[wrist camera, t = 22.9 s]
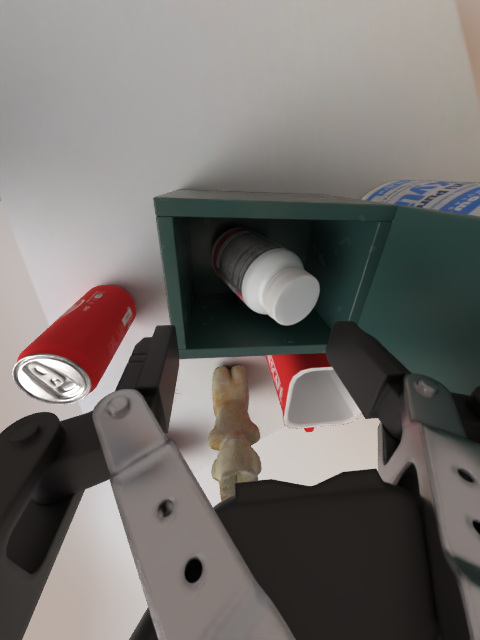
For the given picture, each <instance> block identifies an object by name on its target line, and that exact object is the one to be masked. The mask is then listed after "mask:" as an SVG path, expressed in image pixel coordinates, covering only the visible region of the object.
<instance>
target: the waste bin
mask: <svg viewBox="0 0 480 640" xmlns="http://www.w3.org/2000/svg"><path fill="white" fill-rule="evenodd" d="M153 200H154V207H155V214H156V221H157V229H158V236H159V243H160V251H161V258H162V265H163V273H164V280H165V287H166V295H167V302H168V309H169V317H170V324H171V325H175V327H176V334H177V342H178V350H179V359H191V358H216V357H240V356H265V355H289V354H314V353H326V347H327V343H328V340H329V336H330V333H331V329H332V326H333V323H334V322H336V321H353V322H355V323H356V324H357V325H358V323H359V320H360V317H361V314H362V311H363V308H364V305H365V302H366V299H367V296H368V294H369V291H370V288H371V285H372V282H373V279H374V276H375V273H376V270H377V267H378V264H379V261H380V258H381V256H382V253H383V250H384V247H385V244H386V241H387V238H388V235H389V232H390V229H391V226H392V223H393V222H392V221H393V220H394V218H395V215H396V212H397V209H398V205H395V204H388V203H380V202H373V201H366V200H359V199H351V198H344V197H337V196H329V195H321V194H293V193H264V192H236V191H208V190H176V191H173V192H170V193H167V194H163V195H160V196H157V197H154V199H153ZM235 227H243V228H247V229H249V230H252V231H254V232H256V233H257V234H259V235H261V236H263V237H265V238H267V239H269V240H271V241H273V242H275V243H276V244H278V245H281V246H282V247H284V248H286V249H288V250H290V251H292V252H293V253H295V254H296V255H297V256H298V257H299V258H300V260H301V262H302V264H303V267H304V270H305V271H307V272H308V273H309V274H311V275H312V276H314V277H315V278H316V279H317V280H318V282H319V285H320V293H319V297H318V300H317V302H316V304H315V306H314V308H313V309H312V310H311V312H310V313H309V314H308V315H307V316H306V317H305V318H304V319H302V320H301V321H299V322H298V323H295V324H293V325H287V326H286V325H281V324H279V323H277V322H276V321H275V320H274V319H273V318H271V317H270V316H269V315H268V314H259V313H257V312H255V311H253V310H252V309H250V308H249V307H248V306H247V305H246V304H245V303H244V302H243V301H242V300H241V299H240V298H239V297H238V296H237V295H236V294H235V293H234V292H233V290H232V289H230V288H229V287H228V286H227V284H225V283H224V281H223V280H222V279H221V278H220V277H219V276H218V275H217V274H216V273H215V271H214V269H213V267H212V263H211V253H212V249H213V246H214V244H215V242H216V240H217V239H218V238H219V237H220V236H221V235H222V234H223V233H224V232H225V231H228V230H229V229H232V228H235Z"/></svg>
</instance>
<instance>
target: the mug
mask: <svg viewBox="0 0 480 640" xmlns="http://www.w3.org/2000/svg"><path fill="white" fill-rule="evenodd" d="M266 359H267V362H268V365H269V369H270V372H271V375H272V378H273V382H274V385H275V388H276V391H277V395H278V398H279V401H280V404H281V408H282V411H283V422H284V425H286V426H287V427H289V428H296V429H297V428H304V429H305V431H306V432H312V431H313V429H314V427H322V426H334V425H343V424H348V423H351V422H353V421H355V420H356V419H358V417H359V416H360V415H361V414H362V412H361V411H360V409H359V408H358V406H357V405H356V403H355V402H354V400H353V399H352V397H351V396H350V394H349V392H348V391H347V389H346V388H345V386H344V385H343V383H342V382H341V380H340V379H339V377H338V375H337V374H336V372H335V371H334V369H333V368H332V366H331V365H330V363H329V362H328V360H327V356H326V353H314V354H289V355H266Z"/></svg>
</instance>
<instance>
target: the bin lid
mask: <svg viewBox="0 0 480 640" xmlns="http://www.w3.org/2000/svg"><path fill="white" fill-rule="evenodd" d="M358 326H359V327H360V328H361V329H362V330H363V331H365V332H366V333H368V334H370V335H371V336H373V337H375V338H376V339H377V340H378V341H379V342H380V343H381V344H382V346H384V347H385V348H386V349H387V350H388V352H390V353H391V354H392V355H393V356H394V357H395V358H396V359H398V360H399V361H400V362H401V363H402V364H403V365H404V366H405V367H406V368H407V369H408V370H409V371H410V372H411V373H415V374H422V375H425V376H428V377H431V378H433V379H435V380H437V381H438V382H440V383H441V384H443V385H444V386H445V387H446V388H447V389H448V390H449V391H450V392H453V393H458V394H463V395H469V396H470V395H471V393H472V392H473V391H474V390H475V388H476V387H478V386H480V216H474V215H468V214H461V213H454V212H448V211H441V210H435V209H428V208H421V207H415V206H398V209H397V212H396V215H395V218H394V220H393V223H392V226H391V229H390V232H389V235H388V238H387V241H386V244H385V247H384V250H383V253H382V256H381V258H380V261H379V264H378V267H377V270H376V273H375V276H374V279H373V282H372V285H371V288H370V291H369V294H368V296H367V299H366V302H365V305H364V308H363V311H362V314H361V317H360V320H359V323H358Z"/></svg>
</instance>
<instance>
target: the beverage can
mask: <svg viewBox="0 0 480 640" xmlns="http://www.w3.org/2000/svg"><path fill="white" fill-rule="evenodd" d="M135 316H136V307H135V302H134V299H133V297H132V296H131V295H130V293H129V292H127V291H126V290H125V289H123V288H121V287H119V286H115V285H102V286H97V287H94V288H92V289H91V290H90V291H88V292H87V293H86V294H85V295H84V296H83V297H82V298H81V299H80V300H78V301H77V302H76V303H75V304H74V305H73V306H72V307H71V308H70V309H69V310H68V311H66V312H65V313H64V314H63V315H62V316H61V317H60V318H59V319H58V320H57V321H55V322H54V323H53V324H52V325H51V326H50V327H49V328H48V329H47V330H46V331H45V332H43V333H42V334H41V335H40V336H39V337H38V338H37V339H36V340H35V341H33V342H32V343H31V344H30V345H29V346H28V347H27V348H26V349H25V350H24V351H23V352H22V353H21V354H20V355H19V357H18V360H17V363H16V364H15V365H14V368H13V371H12V376H13V380H14V382H15V384H16V385H17V386H18V387H19V388H20V389H21V390H22V391H23V392H24V393H25V394H27V395H28V396H30V397H32V398H34V399H36V400H39V401H41V402H45V403H49V404H57V405H66V404H72V403H76V402H79V401H81V400H82V399H84V398H85V397H86V396H87V395H88V394H89V393H90V392H92V391H93V390H94V389H95V388H96V386H97V385H98V383H99V381H100V380H101V378H102V376H103V374H104V372H105V370H106V369H107V367H108V365H109V363H110V361H111V360H112V358H113V356H114V354H115V352H116V351H117V349H118V347H119V345H120V343H121V342H122V340H123V338H124V336H125V334H126V333H127V331H128V329H129V327H130V325H131V324H132V322H133V320H134V318H135Z"/></svg>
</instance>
